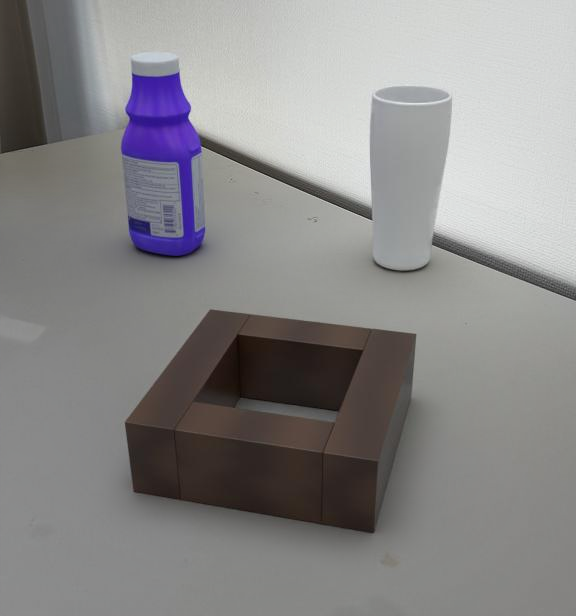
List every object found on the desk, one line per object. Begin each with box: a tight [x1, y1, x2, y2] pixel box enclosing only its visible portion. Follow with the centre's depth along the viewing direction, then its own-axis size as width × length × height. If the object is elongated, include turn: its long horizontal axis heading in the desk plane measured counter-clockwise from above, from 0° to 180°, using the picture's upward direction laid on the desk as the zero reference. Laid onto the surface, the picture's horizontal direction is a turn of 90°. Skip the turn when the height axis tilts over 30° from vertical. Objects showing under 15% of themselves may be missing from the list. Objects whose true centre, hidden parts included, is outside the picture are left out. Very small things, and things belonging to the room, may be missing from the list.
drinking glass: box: [368, 84, 453, 272], centre depth 76 cm, size 7×7×15 cm
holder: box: [124, 309, 417, 533], centre depth 55 cm, size 14×14×5 cm
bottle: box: [120, 51, 206, 257], centre depth 79 cm, size 7×6×17 cm
